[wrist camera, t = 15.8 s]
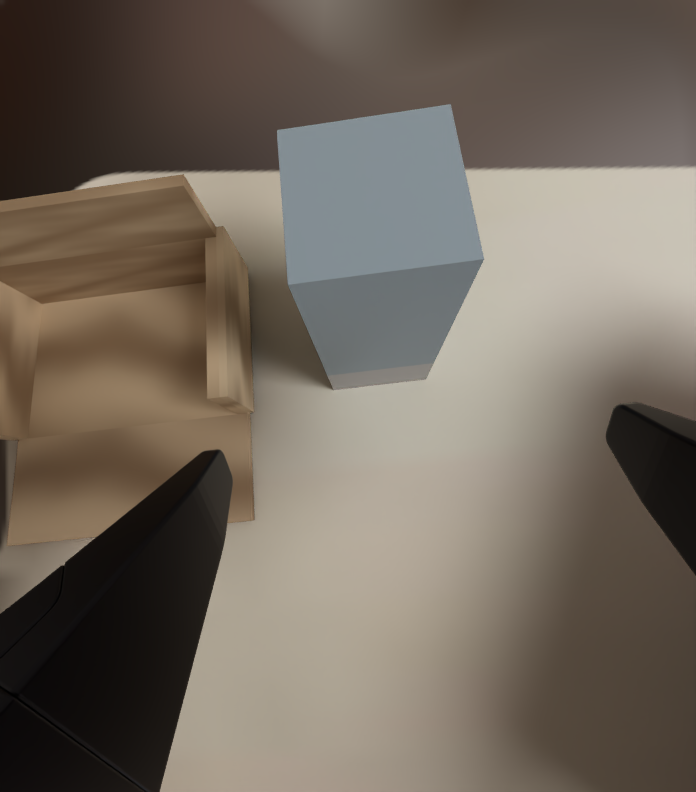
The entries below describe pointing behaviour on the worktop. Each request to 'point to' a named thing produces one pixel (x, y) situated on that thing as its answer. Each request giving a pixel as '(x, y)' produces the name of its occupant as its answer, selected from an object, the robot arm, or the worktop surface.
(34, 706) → the robot arm
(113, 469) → the kraft carton
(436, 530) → the worktop surface
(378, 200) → the slate block
